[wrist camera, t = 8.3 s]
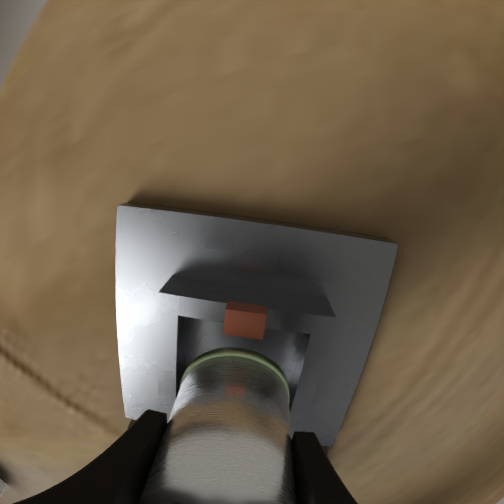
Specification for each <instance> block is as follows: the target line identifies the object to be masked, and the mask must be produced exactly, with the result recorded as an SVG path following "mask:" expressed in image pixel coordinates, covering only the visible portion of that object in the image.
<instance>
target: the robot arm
mask: <svg viewBox="0 0 504 504" xmlns="http://www.w3.org/2000/svg"><path fill="white" fill-rule="evenodd" d="M166 425H167V413H163V412H158V411H154V410H150V409H148V410H146V411H145V412H144V413H143V414H142V415H141V416H140V417H139V418H138V419H137V420H136V422H135V423H134V424H133V425H132V426H131V427H130V428H129V429H128V430H127V431H126V432H125V433H124V434H123V435H122V436H121V437H120V438H119V439H117V440H116V441H115V442H114V443H113V444H112V445H111V446H110V447H109V448H108V449H106V450H105V451H104V452H103V453H102V454H100V455H99V456H98V457H97V458H95V459H94V460H93V461H92V462H90V463H89V464H88V465H86V466H85V467H84V468H82V469H81V470H79V471H78V472H77V473H75V474H74V475H72V476H70V477H69V478H67V479H66V480H64V481H62V482H61V483H59V484H57V485H55V486H53V487H51V488H49V489H47V490H45V491H43V492H41V493H39V494H37V495H35V496H32V497H30V498H27V499H24V500H22V501H19V502H16V503H13V504H139V501H140V498H141V495H142V492H143V489H144V486H145V484H146V481H147V478H148V475H149V472H150V469H151V467H152V464H153V461H154V458H155V455H156V453H157V450H158V447H159V444H160V441H161V439H162V436H163V433H164V430H165V428H166ZM292 452H293V465H294V480H295V495H296V504H358V503H357V502H356V501H355V500H354V498H353V497H352V496H351V494H350V493H349V491H348V490H347V488H346V487H345V485H344V484H343V482H342V481H341V479H340V478H339V476H338V474H337V473H336V471H335V470H334V468H333V466H332V464H331V463H330V461H329V459H328V457H327V456H326V454H325V452H324V450H323V448H322V446H321V444H320V442H319V440H318V438H317V436H316V434H315V433H314V432H300V431H294V434H293V437H292Z"/></svg>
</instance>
